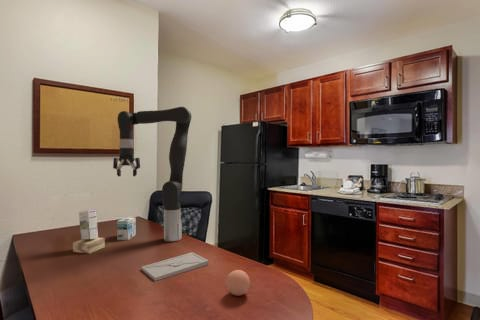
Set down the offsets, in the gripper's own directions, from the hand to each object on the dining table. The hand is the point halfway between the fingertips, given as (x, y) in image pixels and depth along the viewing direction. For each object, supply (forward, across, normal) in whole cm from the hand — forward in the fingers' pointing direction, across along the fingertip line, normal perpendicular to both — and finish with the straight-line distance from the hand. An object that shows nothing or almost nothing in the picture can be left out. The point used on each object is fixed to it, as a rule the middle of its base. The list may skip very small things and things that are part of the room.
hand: (126, 176), depth 152 cm
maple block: (+36, +13, +15) cm, 42 cm away
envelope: (+37, -37, +37) cm, 64 cm away
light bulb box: (+36, +3, -6) cm, 37 cm away
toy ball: (+36, -64, +60) cm, 95 cm away
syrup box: (+31, +13, +15) cm, 37 cm away
